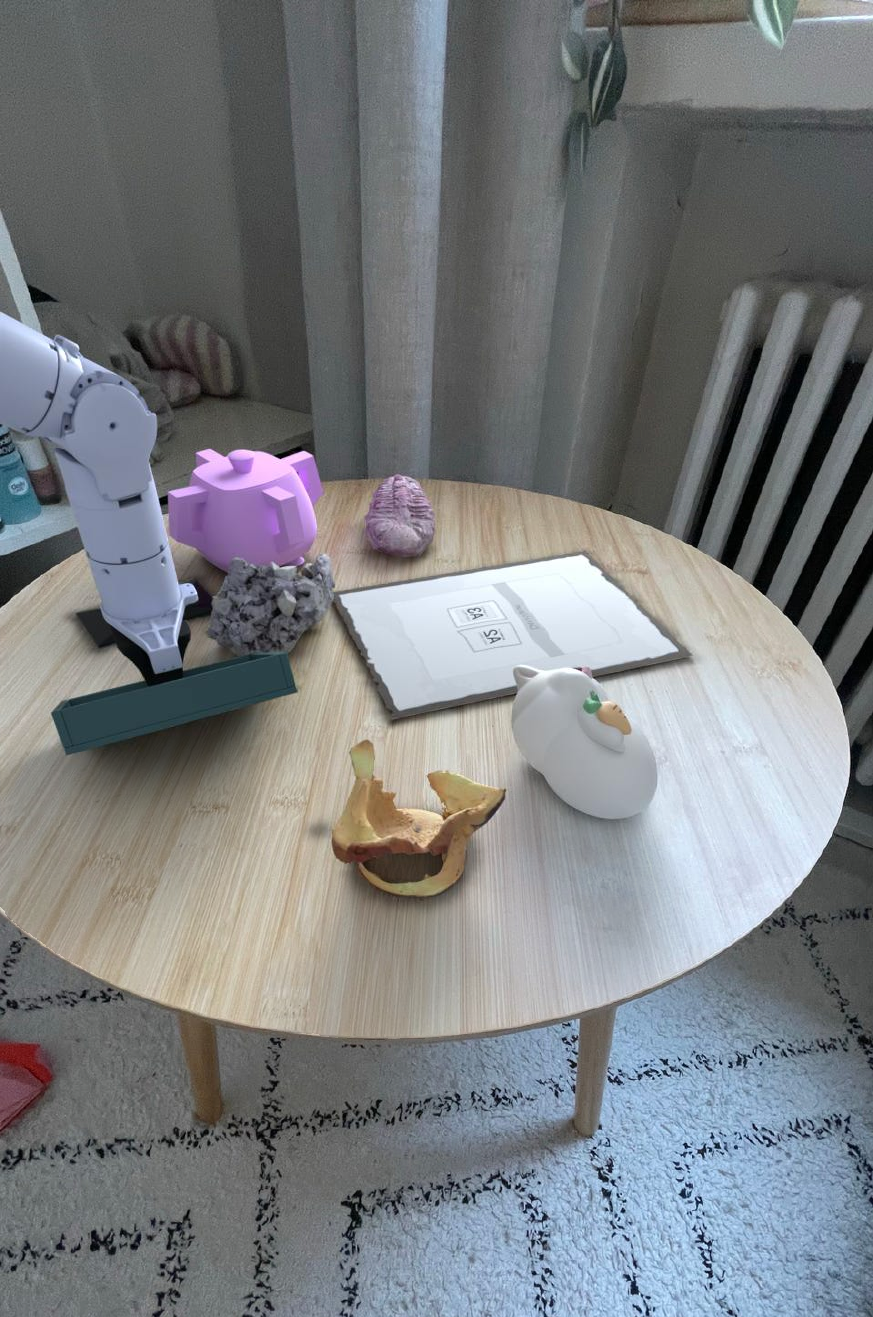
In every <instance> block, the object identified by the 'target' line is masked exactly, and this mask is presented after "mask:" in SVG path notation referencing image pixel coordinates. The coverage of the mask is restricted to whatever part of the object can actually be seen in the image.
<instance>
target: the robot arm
mask: <svg viewBox="0 0 873 1317" xmlns="http://www.w3.org/2000/svg"><path fill="white" fill-rule="evenodd" d="M79 351H80V347H79V345H78V343H75V342H74V341H72V340H70V339H68V338H66V337H64V336H62V335H60V334H55V336H54V338H53V339H52V338H50V337H48V336H46V335H44V334H43V333H40V332H39V331H37V330H35V329H33V328H31V327H30V326H28V325H26V324H24V323H23V322H21V321H19V320H17V319H15V318H14V317H11V316H9V315H8V314H6V313H4V312H2V311H0V425H2V426H4V427H6V428H9V429H11V430H13V431H16V432H19V433H21V434H23V435H25V436H28V437H33V438H42V439H43V440H45V441H46V442H48V443H54V444H55V445H57V446H59V447H55V448H54V449H53V451H54V454H55V458H56V461H57V465H58V466H59V470H60V474H61V477H62V480H63V483H64V488H65V493H66V495H67V499H68V502H69V506H70V509H71V511H72V515H73V517H74V521H75V523H76V524H75V525H76V527H77V530H78V533H79V536H80V540H81V543H82V546H83V549H84V552H85V555H86V559H87V562H88V565H89V567H90V568H89V569H90V571H91V574H92V577H93V581H94V584H95V586H96V590H97V592H98V595H99V599H100V604H99V606H100V608H101V612H102V615H103V617H104V619H105V620H106V621H107V622H108V623H109V626H110V629H111V632H112V635H113V637H114V640H115V643H116V644H115V646H116V648H117V650H118V651H119V652H120V653H121V654H122V655H123V656H124V657H125V658H126V659H128V660H129V661H130V662H131V663H132V664H133V665H134V666H135V668H136V669H137V670H138V671H139V672H140V675H141V676H142V678H143V680H145V681H146V683H147V685H148V687H151V686H155V685H159V684H163V683H167V682H171V681H175V680H178V679H182V678H183V671H184V661H185V656H186V652H187V649H188V646H189V644H190V642H191V640H192V629H191V626H190V624H189V621H187V620H186V618H185V614H184V609H185V606H186V605H188V604H191V603H195V602H197V601H198V596H197V592H196V590H195V588H194V586H193V585H192V584H189V583H186V584H180V585H179V584H178V583H179V581H178V577H177V573H176V568H175V564H174V560H173V555H172V550H171V547H170V543H169V538H168V534H167V530H166V525H165V521H164V517H163V512H162V509H161V504H160V500H159V496H158V492H157V487H156V482H155V479H154V477H153V472H152V468H151V464H150V456H151V453H152V451H153V449H154V446H155V444H156V440H157V435H158V420H157V415H156V413H154V412H151V411H150V410H149V408H148V405H147V403H146V399H145V398H144V397H143V396H141V395H140V391H139V389H138V388H137V387H136V386H135V385H134V384H132V382H130V381H129V380H128V379H126V378H124V377H122V376H121V375H119V374H118V373H115V372H113V371H111V370H109V369H107V368H105V367H104V366H101V365H99V364H98V363H96V362H94V361H92V360H90V359H88V358H86V357H84V356H83V355H82V354H81V353H80V352H79Z"/></svg>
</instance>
